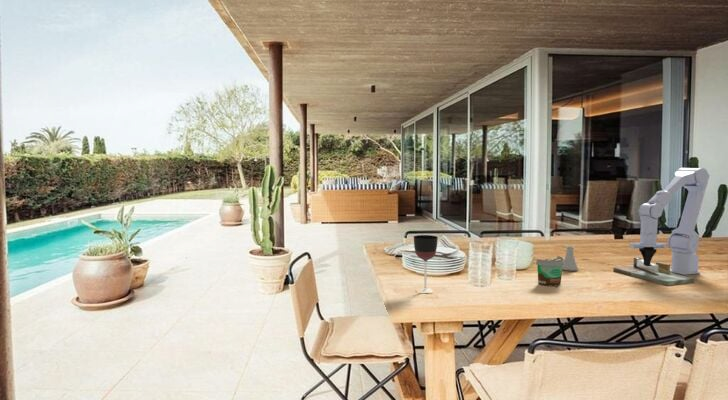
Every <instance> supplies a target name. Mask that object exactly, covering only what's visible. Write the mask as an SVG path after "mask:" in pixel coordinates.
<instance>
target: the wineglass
mask: <svg viewBox="0 0 728 400" xmlns="http://www.w3.org/2000/svg"><path fill="white" fill-rule="evenodd" d="M438 238H439V237H438V236H437V235H430V234H420V235H417V234H416V235H414V236H413V246H414V252H415V255H416V256H417V257H418V258H419V259H421V260H422V261H423V262H424V265H423V267H424V271H423V272H424V274H423V275H424V278H423V279H424V282H423V285H424V287H423V288H424V289H421V290H420V291H423V292H432V291H433V290H434V289H433V290H431V289H432V288H428V289H426V288H427V263H428V262H427V261H429V260H431V259H433V258H434V257H435V256H436V253H437V248H438V241H439V239H438Z"/></svg>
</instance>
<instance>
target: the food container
mask: <svg viewBox="0 0 728 400" xmlns="http://www.w3.org/2000/svg"><path fill="white" fill-rule="evenodd" d="M564 259H565V258H564V257H562V256H559V255H557V257H556V258H547V259H539V258H537V260H536V261H535V262H536V263H535V264H536V265H537V281H538V282H537V283H538V285H539V286H544V287H559V286H561V282H562V275H563V269H562V268H563V265H565V263H564Z"/></svg>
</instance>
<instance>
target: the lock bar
mask: <svg viewBox="0 0 728 400" xmlns="http://www.w3.org/2000/svg"><path fill="white" fill-rule="evenodd" d="M632 266H635V267H640V268H642V269H645V270H647V271H650V272H653V273H658V265H656V263H653V262H651V263H650V266H645V265H644V259H643V257H642V258H641V257H633V265H632Z"/></svg>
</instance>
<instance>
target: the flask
mask: <svg viewBox="0 0 728 400" xmlns="http://www.w3.org/2000/svg"><path fill="white" fill-rule="evenodd" d="M565 249H566V253H565V256H564V258H563V259H564V263H565V265H563V268H562V271H569V272H570V271H571V272H572V271H573V272H574V271H579V267H578V265H577V262H576V259H575V255H574V249H575V247H574V246H569V245H567V246H565Z"/></svg>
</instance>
